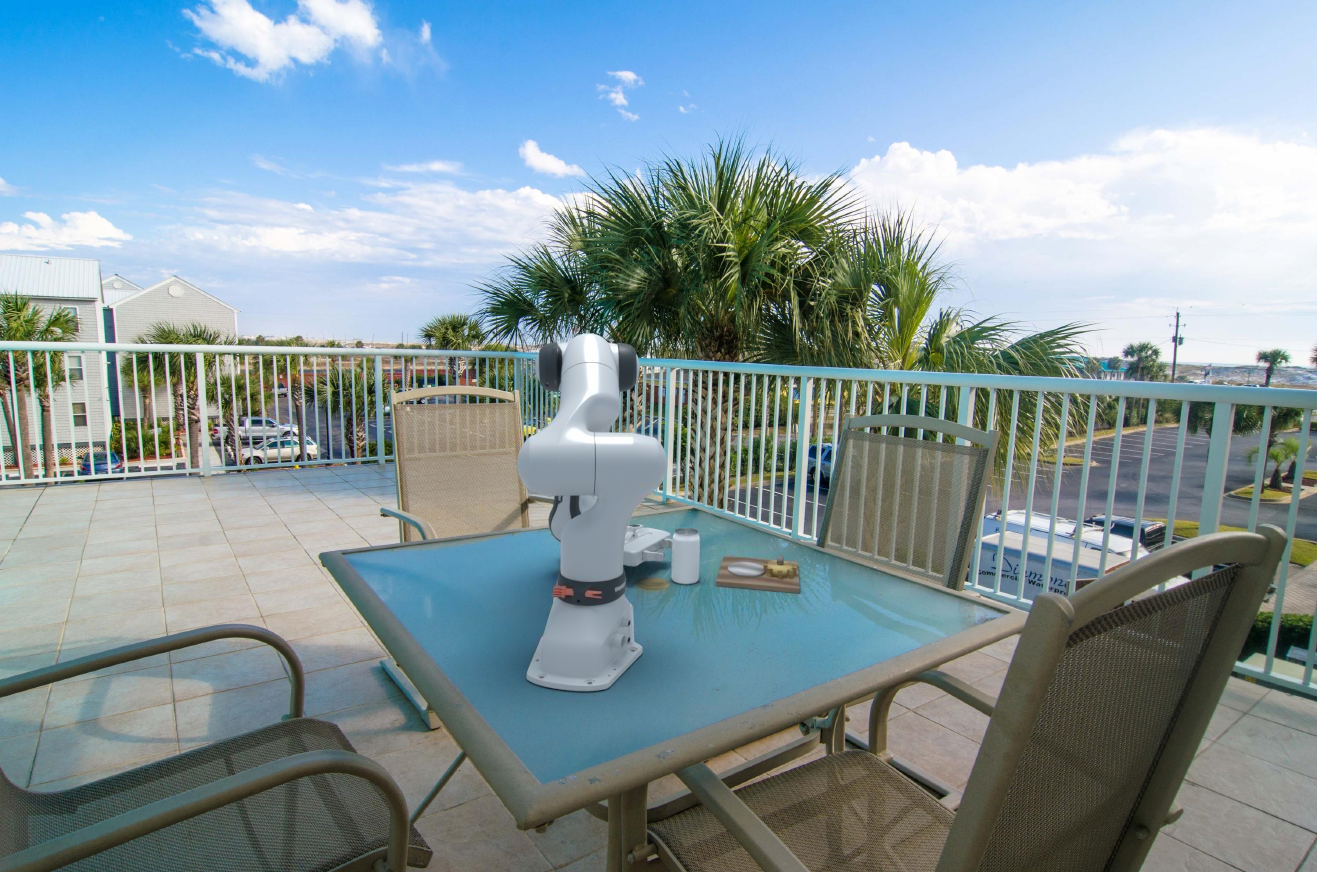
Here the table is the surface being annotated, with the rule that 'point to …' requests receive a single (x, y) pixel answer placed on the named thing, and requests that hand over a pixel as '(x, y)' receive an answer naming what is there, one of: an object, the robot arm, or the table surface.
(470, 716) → the table surface
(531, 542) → the table surface
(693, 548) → the can
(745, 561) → the board
